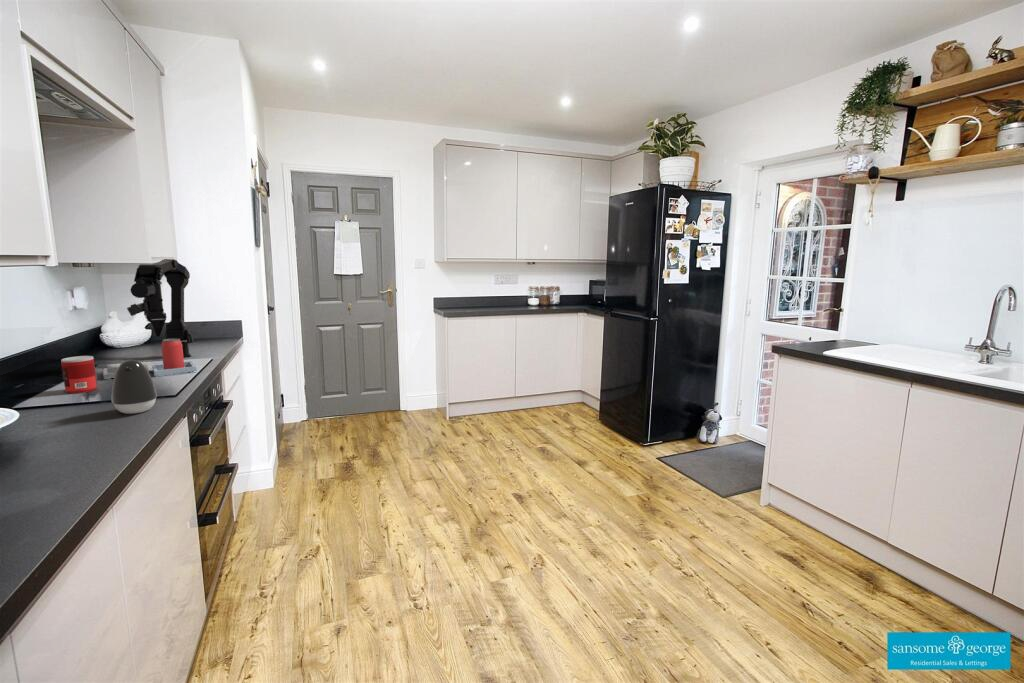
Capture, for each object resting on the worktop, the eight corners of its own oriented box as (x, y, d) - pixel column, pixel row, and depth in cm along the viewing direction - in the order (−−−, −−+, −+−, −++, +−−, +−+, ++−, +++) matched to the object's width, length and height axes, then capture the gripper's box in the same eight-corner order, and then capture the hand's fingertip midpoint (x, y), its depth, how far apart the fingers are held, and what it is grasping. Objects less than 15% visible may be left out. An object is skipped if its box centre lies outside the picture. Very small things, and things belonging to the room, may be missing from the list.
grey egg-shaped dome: (107, 418, 130) (100, 364, 128) (120, 408, 140) (114, 357, 137) (152, 414, 134) (146, 362, 132) (162, 404, 144) (157, 355, 141)
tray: (152, 370, 186) (152, 365, 186) (192, 366, 195) (191, 361, 194) (155, 377, 177) (154, 371, 176) (196, 372, 185) (196, 366, 184)
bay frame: (104, 373, 181) (103, 368, 181) (147, 368, 189) (146, 364, 189) (104, 380, 171) (103, 374, 171) (149, 375, 179) (148, 369, 179)
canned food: (103, 387, 161) (99, 356, 159) (80, 394, 153) (75, 360, 151) (83, 387, 162) (78, 355, 160) (58, 393, 154) (54, 360, 152)
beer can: (167, 372, 181) (164, 341, 179) (161, 370, 185) (157, 339, 183) (187, 369, 186) (184, 339, 184) (180, 367, 190) (177, 337, 188)
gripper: (126, 295, 191) (130, 333, 194) (127, 298, 177) (132, 339, 180) (160, 294, 198) (164, 331, 201) (164, 297, 184) (168, 337, 187)
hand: (157, 334), depth 192 cm, fingers open, 9 cm apart
